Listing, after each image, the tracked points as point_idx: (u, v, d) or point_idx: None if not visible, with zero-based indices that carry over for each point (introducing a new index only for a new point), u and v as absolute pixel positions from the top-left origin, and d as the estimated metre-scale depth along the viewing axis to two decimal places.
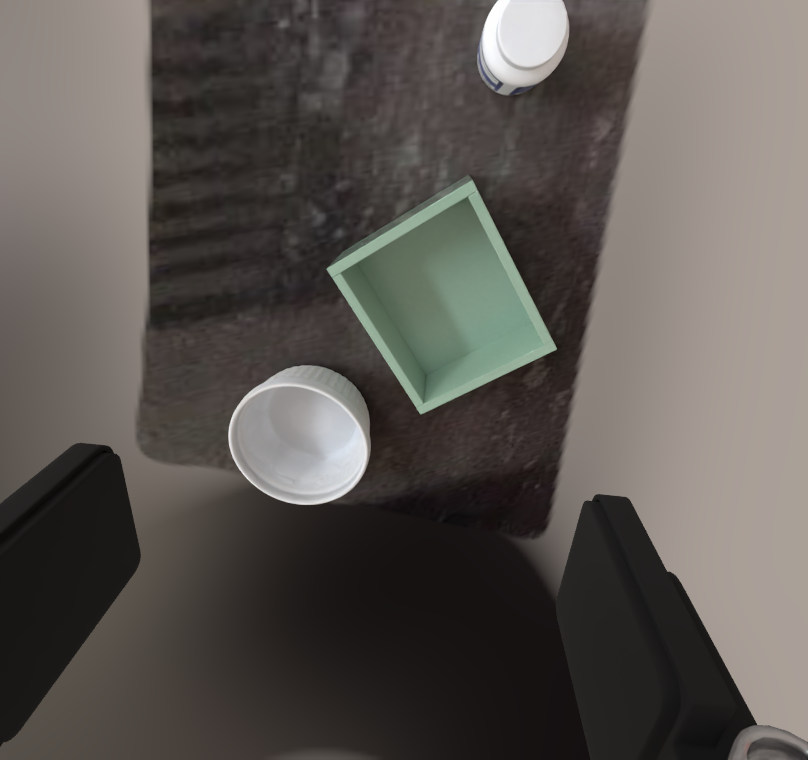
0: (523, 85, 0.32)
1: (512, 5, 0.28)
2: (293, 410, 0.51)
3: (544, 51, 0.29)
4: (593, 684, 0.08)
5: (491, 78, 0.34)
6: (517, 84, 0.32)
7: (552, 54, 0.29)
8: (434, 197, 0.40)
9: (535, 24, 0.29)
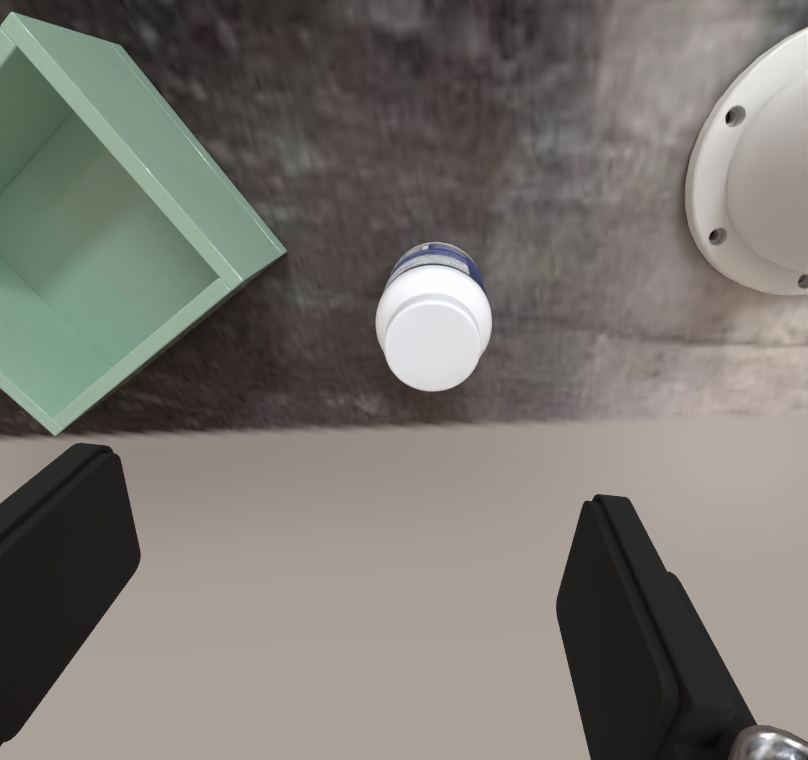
0: None
1: (456, 317, 0.20)
2: None
3: (405, 368, 0.21)
4: (593, 684, 0.08)
5: (390, 279, 0.24)
6: (376, 325, 0.23)
7: (402, 379, 0.21)
8: (234, 209, 0.26)
9: (435, 352, 0.20)
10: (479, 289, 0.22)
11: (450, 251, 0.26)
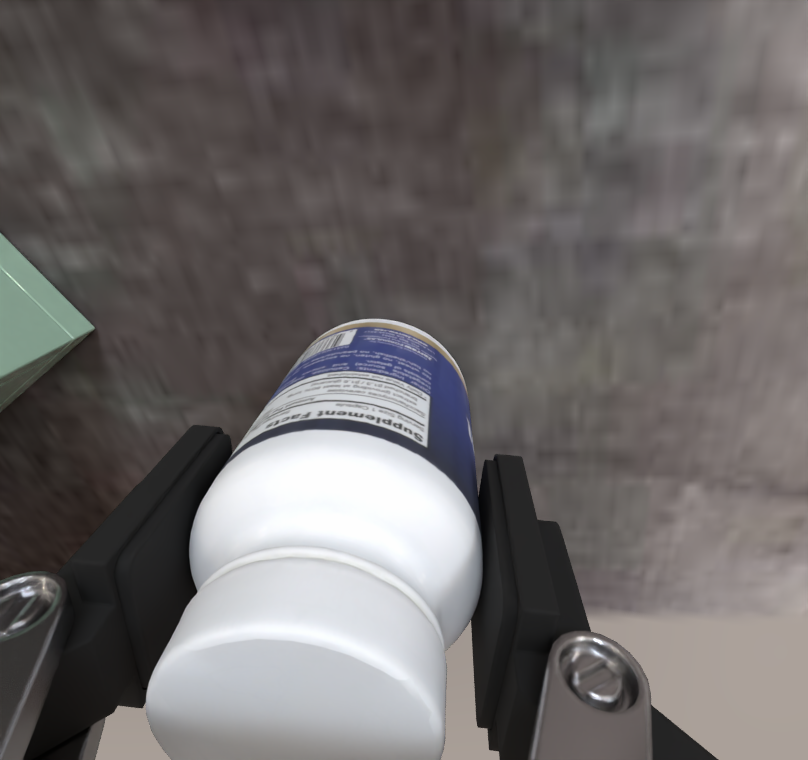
0: None
1: (358, 674, 0.06)
2: None
3: None
4: (478, 618, 0.09)
5: (250, 428, 0.10)
6: None
7: None
8: None
9: (305, 743, 0.07)
10: (449, 499, 0.08)
11: (397, 352, 0.12)
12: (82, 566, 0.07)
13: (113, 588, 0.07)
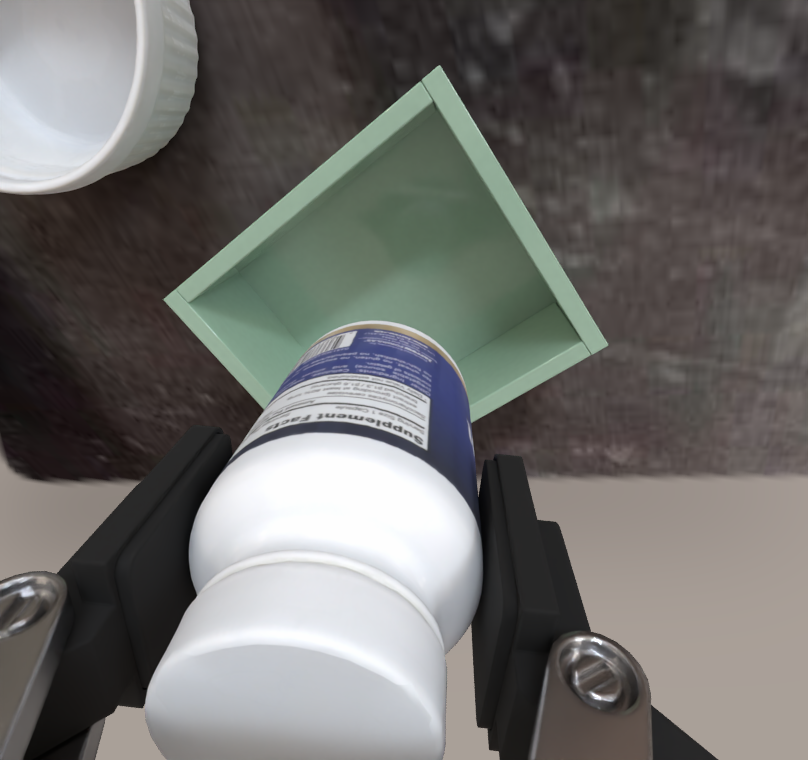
0: None
1: (358, 679, 0.06)
2: None
3: None
4: (479, 618, 0.09)
5: (250, 431, 0.10)
6: None
7: None
8: None
9: (304, 749, 0.07)
10: (450, 503, 0.08)
11: (397, 353, 0.12)
12: (82, 566, 0.07)
13: (113, 588, 0.07)
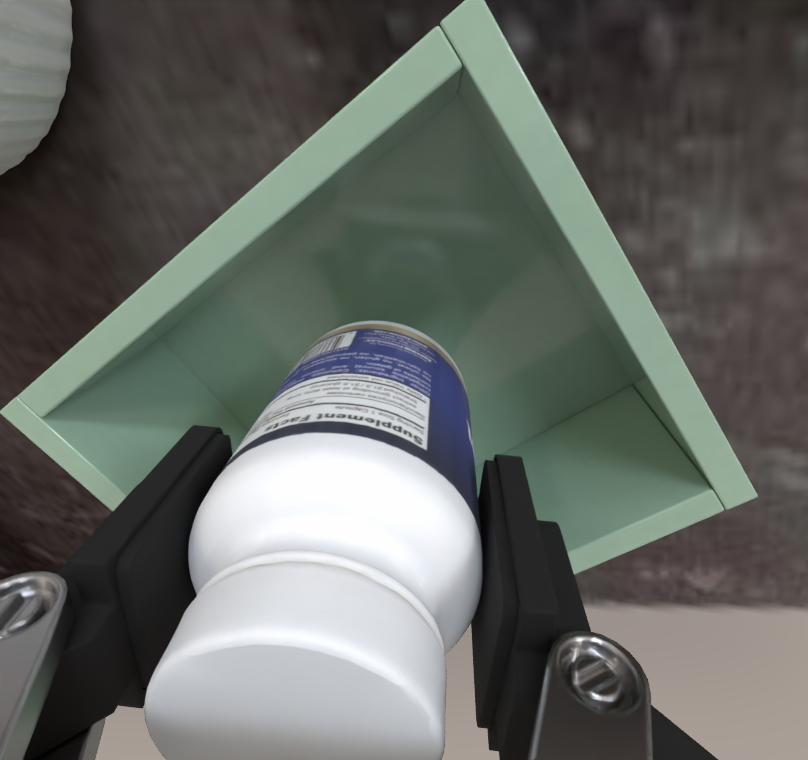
0: None
1: (358, 679, 0.06)
2: None
3: None
4: (479, 618, 0.09)
5: (249, 431, 0.10)
6: None
7: None
8: None
9: (304, 749, 0.07)
10: (449, 503, 0.08)
11: (397, 353, 0.12)
12: (82, 566, 0.07)
13: (113, 588, 0.07)
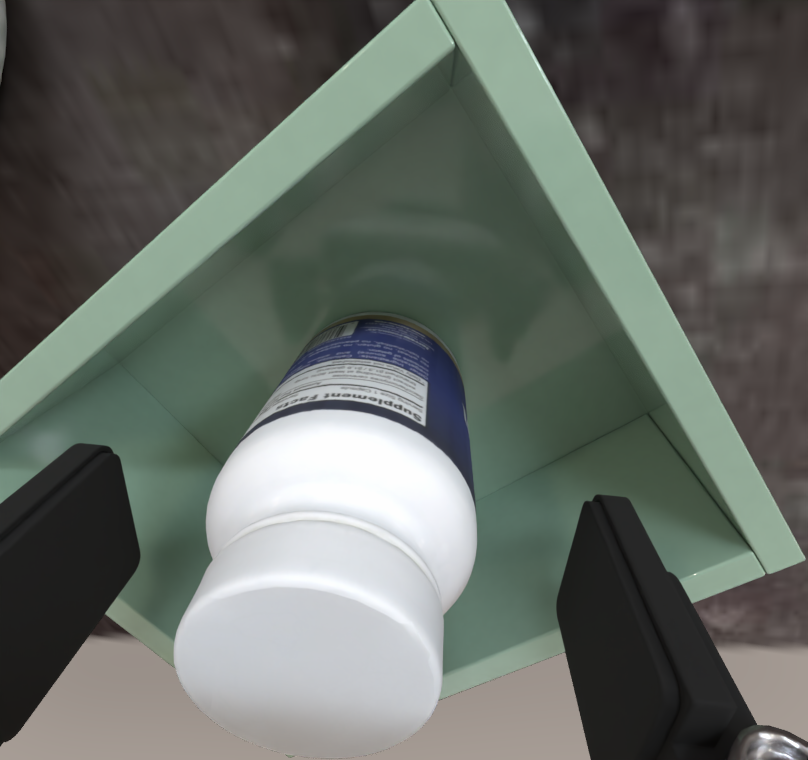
0: None
1: (365, 619, 0.07)
2: None
3: (240, 715, 0.08)
4: (593, 684, 0.08)
5: None
6: (208, 539, 0.10)
7: (237, 733, 0.08)
8: None
9: (317, 687, 0.07)
10: (446, 472, 0.09)
11: (396, 341, 0.13)
12: None
13: None
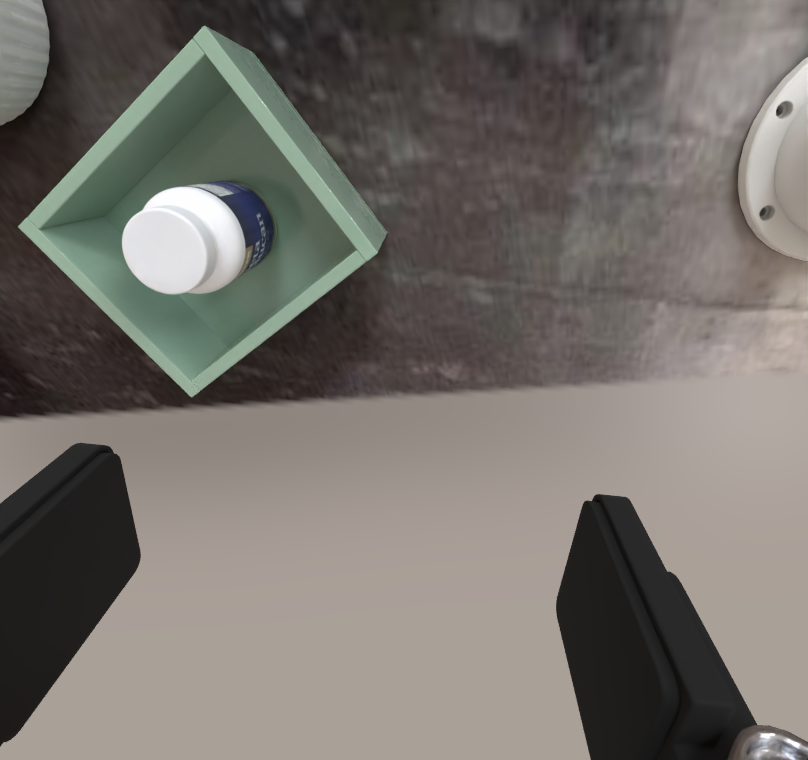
0: None
1: (177, 222, 0.22)
2: None
3: (145, 272, 0.23)
4: (593, 684, 0.08)
5: None
6: None
7: (145, 283, 0.24)
8: (352, 194, 0.30)
9: (168, 256, 0.23)
10: (223, 206, 0.25)
11: (227, 184, 0.28)
12: None
13: None
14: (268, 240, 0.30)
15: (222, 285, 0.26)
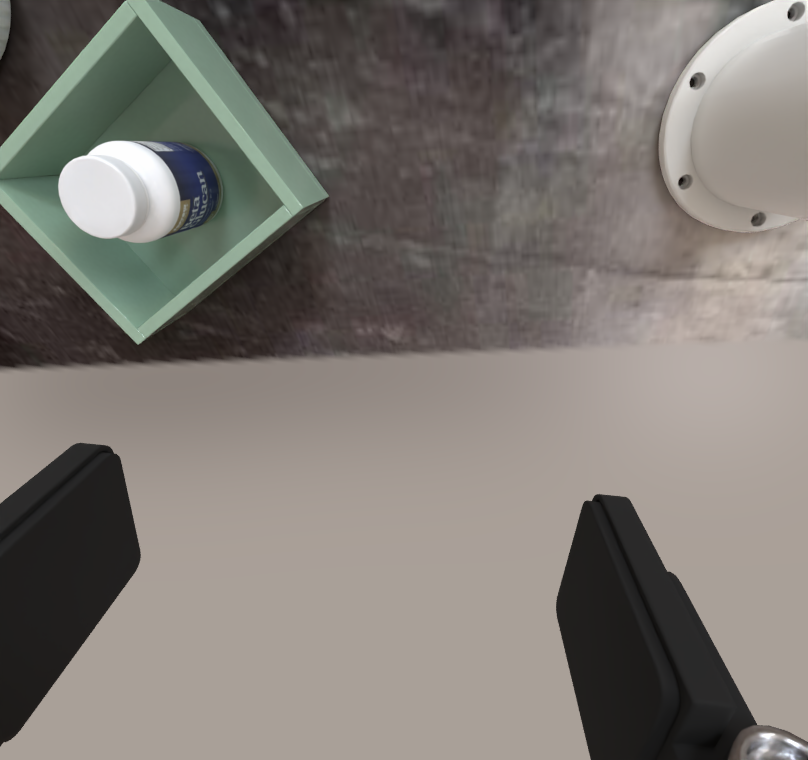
0: None
1: (107, 170, 0.24)
2: None
3: (80, 217, 0.26)
4: (593, 684, 0.08)
5: None
6: None
7: (81, 227, 0.26)
8: (290, 156, 0.31)
9: (100, 202, 0.25)
10: (156, 160, 0.27)
11: (171, 143, 0.30)
12: None
13: None
14: (211, 198, 0.32)
15: (158, 235, 0.28)
